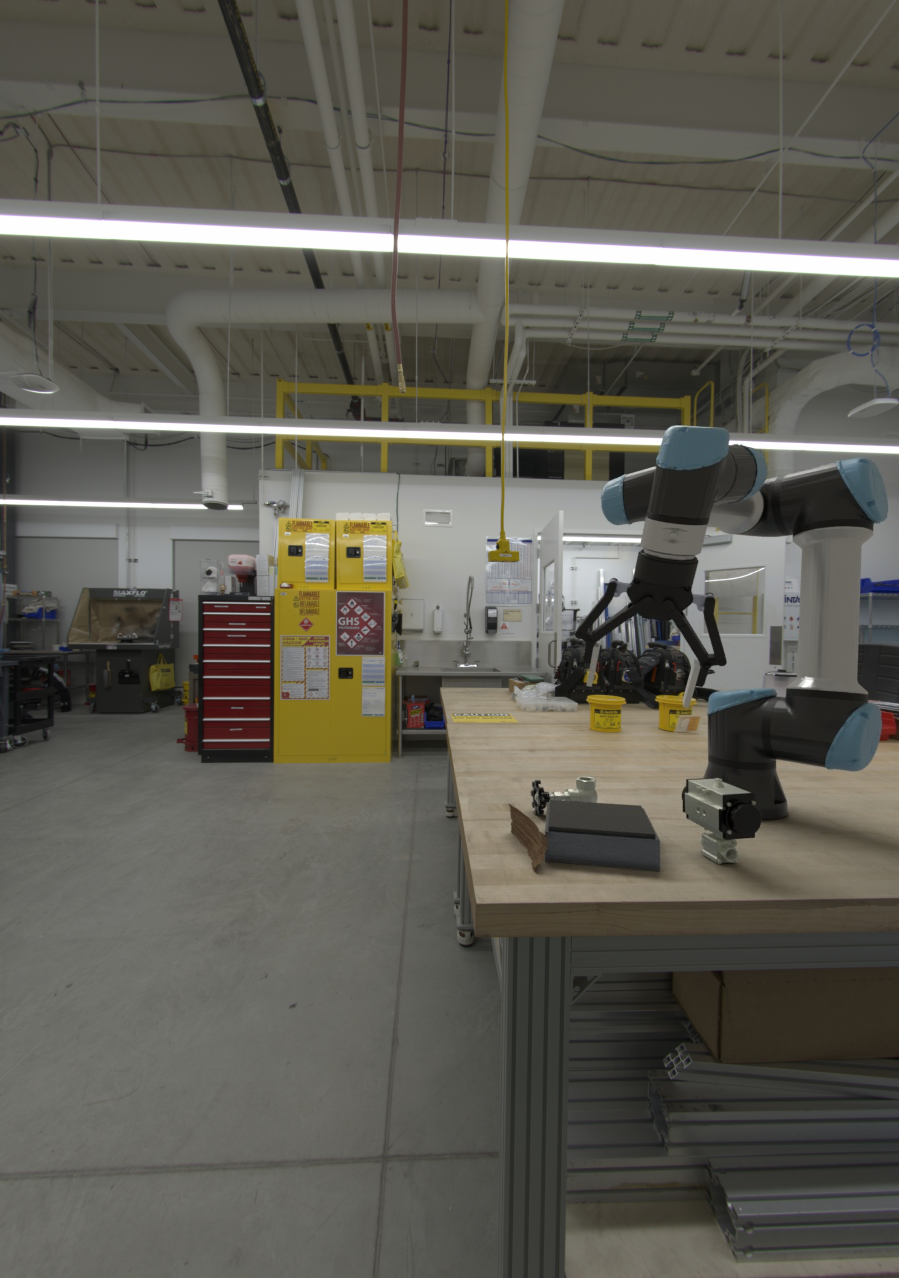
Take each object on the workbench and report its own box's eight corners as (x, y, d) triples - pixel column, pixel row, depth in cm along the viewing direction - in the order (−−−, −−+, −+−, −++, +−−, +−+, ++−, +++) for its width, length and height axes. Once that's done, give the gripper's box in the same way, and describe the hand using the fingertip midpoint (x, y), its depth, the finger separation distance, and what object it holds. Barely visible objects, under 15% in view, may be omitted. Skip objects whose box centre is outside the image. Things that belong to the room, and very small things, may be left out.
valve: (590, 807, 100) (530, 809, 99) (590, 773, 100) (530, 775, 99) (603, 819, 94) (540, 821, 93) (603, 783, 94) (539, 785, 93)
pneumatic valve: (706, 842, 82) (706, 768, 82) (763, 875, 71) (762, 789, 71) (675, 845, 81) (675, 769, 81) (727, 878, 70) (727, 791, 70)
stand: (643, 834, 86) (643, 804, 86) (660, 871, 72) (659, 835, 72) (547, 827, 89) (547, 798, 89) (545, 861, 75) (545, 827, 75)
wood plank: (503, 833, 87) (503, 803, 87) (514, 832, 87) (514, 802, 87) (535, 873, 72) (535, 837, 72) (549, 871, 72) (549, 836, 72)
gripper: (569, 544, 68) (548, 684, 77) (781, 574, 60) (731, 726, 68) (578, 535, 75) (558, 664, 83) (771, 560, 66) (726, 701, 75)
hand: (636, 693), depth 76 cm, fingers open, 13 cm apart
